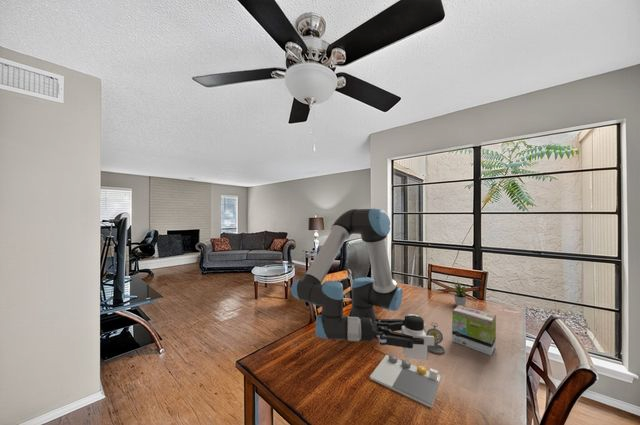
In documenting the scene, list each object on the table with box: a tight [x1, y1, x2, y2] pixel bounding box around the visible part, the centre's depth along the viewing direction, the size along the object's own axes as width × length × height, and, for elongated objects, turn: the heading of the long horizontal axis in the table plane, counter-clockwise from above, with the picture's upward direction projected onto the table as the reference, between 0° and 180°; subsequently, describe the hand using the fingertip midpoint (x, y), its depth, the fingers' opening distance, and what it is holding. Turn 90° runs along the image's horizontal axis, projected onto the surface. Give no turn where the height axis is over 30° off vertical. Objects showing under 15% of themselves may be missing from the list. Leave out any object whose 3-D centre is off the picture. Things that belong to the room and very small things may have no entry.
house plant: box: [448, 279, 473, 307], centre depth 149 cm, size 14×14×16 cm
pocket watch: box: [425, 322, 445, 355], centre depth 99 cm, size 8×8×10 cm
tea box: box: [451, 305, 497, 357], centre depth 103 cm, size 15×10×15 cm
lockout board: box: [369, 354, 442, 409], centre depth 81 cm, size 20×16×3 cm
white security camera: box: [400, 313, 429, 361], centre depth 77 cm, size 7×7×12 cm
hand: (429, 334), depth 76 cm, fingers closed on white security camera, 7 cm apart
